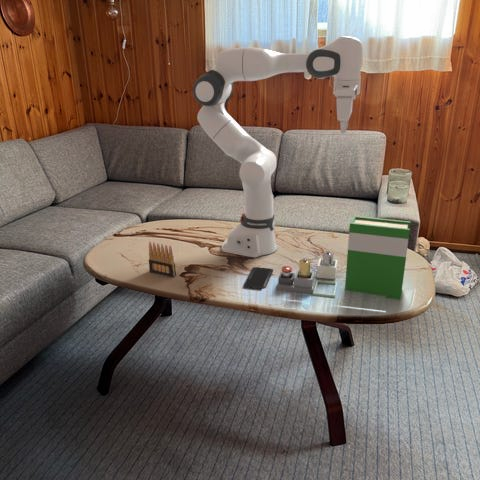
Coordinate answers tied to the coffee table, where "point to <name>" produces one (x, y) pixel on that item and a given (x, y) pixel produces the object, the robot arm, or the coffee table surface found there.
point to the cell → (304, 268)
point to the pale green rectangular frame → (324, 293)
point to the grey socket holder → (297, 283)
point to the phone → (258, 278)
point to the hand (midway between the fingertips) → (344, 130)
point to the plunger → (286, 272)
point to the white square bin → (327, 270)
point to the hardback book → (377, 256)
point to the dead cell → (327, 259)
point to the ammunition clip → (161, 260)
